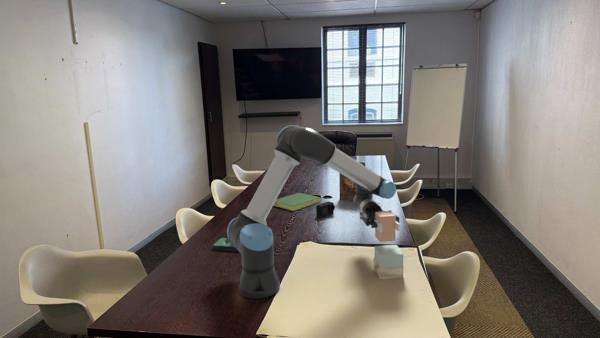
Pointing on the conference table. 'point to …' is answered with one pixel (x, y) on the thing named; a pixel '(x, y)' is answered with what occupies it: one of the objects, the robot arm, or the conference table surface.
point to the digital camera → (325, 209)
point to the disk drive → (224, 245)
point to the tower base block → (388, 271)
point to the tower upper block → (388, 256)
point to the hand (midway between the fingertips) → (390, 228)
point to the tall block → (386, 226)
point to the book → (347, 187)
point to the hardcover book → (296, 201)
